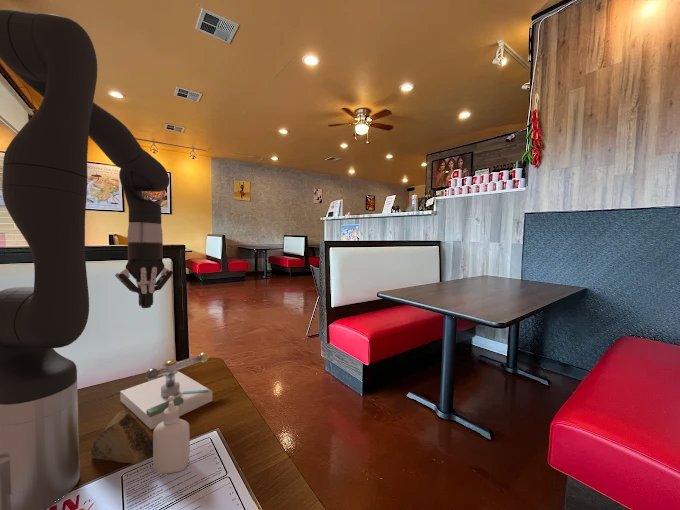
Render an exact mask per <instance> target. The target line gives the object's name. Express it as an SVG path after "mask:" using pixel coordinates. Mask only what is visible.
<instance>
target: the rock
mask: <svg viewBox="0 0 680 510" xmlns="http://www.w3.org/2000/svg"><path fill="white" fill-rule="evenodd" d="M98 435H99V436H97V438H95V440H94V441H93V445H92V447H91V449H90V456H91V459H96V460H105V461H113V462H116V463H123V464H127V463H128V464H133V465H135V464H140V463H142V462H143V461H146V460H148V459H150V458H151V457H152V458H153V434H150V433H149V432H148V431H147V429H146V428H145V426H144V425H143V424H142V422H140V421H139V420H137V418H135V417H133V416H132V415H131V414H130V413H127V411H125V410H120V411H119V412H117V413H116V414H115V416H114V417H113V418H112V420H110V421H109V423H108V424H107V425H106V426H105V428H104V429H103V430H102V431H101V432H100V434H98Z"/></svg>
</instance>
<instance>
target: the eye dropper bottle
mask: <svg viewBox="0 0 680 510" xmlns="http://www.w3.org/2000/svg"><path fill="white" fill-rule="evenodd" d="M189 423H190V422H188V421H187V420H185V419H182V418H180V416H179V407H177V406H175V405H174V402H173V401H171V402H169V406H168V408H167V409H165V410H164V421H163V422H161V423H159V424H158V425H157V426H156V428H153V433H152V436H153V456H152V460H153V461H152V462H153V463H152V467H153V471H154V472H156V473H158V474H174V473H177V472H181V471H183V470H185V469H186V468H187V466H188V464H189V462H190V458H191V457H190V456H191V455H190V454H191V453H190V452H191V451H190V450H191V449H190V448H191V446H190V424H189Z"/></svg>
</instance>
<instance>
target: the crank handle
mask: <svg viewBox="0 0 680 510" xmlns="http://www.w3.org/2000/svg"><path fill="white" fill-rule="evenodd" d="M208 360H209V354H208V352H205V351H204V352H203V351H202V352H201V353H199V354H198V355H195V356H192V357H189V358H186V359H183V360H180V361H177V360H176V359H175V358H169V359H167V360H165V361H164V363H163V364H162V366H161V367H158V368H154V367H153V368H152V367H151V368H150V369H148V370H147V371H146V372H145V379H147V380H148V381H151V380H154V379H157V378H159V377H160V376H161V377H163V376H166V387H171V386H173V385H175V374H176V373H177V372H178V370H181V369H183V368H184V369H185V368H187V367H189V366H192V365H196V364H198V363H205V362H207V361H208Z"/></svg>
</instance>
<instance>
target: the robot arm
mask: <svg viewBox="0 0 680 510" xmlns="http://www.w3.org/2000/svg"><path fill="white" fill-rule="evenodd" d="M0 60H1V61H2V62H3V63H4V64H5V65H6V66H7V68H9V69H10V70H11V71H12V72H13V73H14V74H15V75H16V76H18V77H19V79H21V80H22V81H23V82H25V83H26V84H27V85H28V86H29V87H30V88H31V89H33V90H34V91H35V92H36V93H38V94H39V95H40V96H42V101H41V104H39V107H38V109H37V110H36V111H35V112H34V114H33V115H32V117H31V118H29V120H27V122H26V123H25V124H24V126H23V127H22V128H21V129H19V131H18V132H17V134H16V135H15V136H14V137H13V139H12V140H11V142H9V144H8V146H7V147H6V150H5V152H4V155H3V162H2V181H1V186H2V187H1V188H2V189H1V192H2V198H3V199H2V200H3V202H4V206H5V208H6V210H7V212H8V214H9V215H10V218H11V219H12V221H13V222H14V224H15V226H16V227H17V229H18V231H20V234H21V235H22V237H23V238H24V239H25V241H26V243H27V245H28V247H29V249H30V252H31V256H32V260H33V267H34V270H33V271H34V279H33V280H34V282H33V286H17V287H16V286H14V287H9V288H5V289H3V290H0V510H45V509H47V508H49V507H50V506H53V505H54V504H55V503H54V502H55V501H57V500H58V499H60V498H62V497H63V496H64V497H65V496H67V495H68V494H69V493H70V492H71V491H73V489H74V488H75V487H76V485H77V483H78V482H79V481H80V470H81V469H80V468H81V465H80V440H79V439H80V438H79V433H80V432H79V407H78V406H79V404H78V401H79V400H78V368H77V365H76V363H75V362H74V361H73V360H71V359H69V358H67V357H65V356H63V355H61V354H60V353H59V352H58V351H56V350H55V349H60V348H65V347H67V346H69V345H71V344H73V343H74V342H75V341H77V340H78V339H79V337H81V335H82V334H83V332H84V330H85V329H86V326H87V324H88V320H89V315H90V314H89V313H90V296H89V287H88V286H89V285H88V275H87V272H88V271H87V264H86V263H87V262H86V209H87V197H88V154H89V153H88V149H89V138H90V139H91V140H92V141H93V142H94V144H96V146H97V147H98V148H99V149H100V150H101V151H102V152H103V154H104V155H105V156H106V157H107V158H108V159H109V161H111V163H113V164H114V166H116V167H117V168H119V169H120V170H119V174H118V175H119V182H120V185H121V188H122V190H123V192H124V196H125V199H126V200H125V201H126V203H127V207H128V226H127V236H126V240H127V263H126V265H125V269H123V270H122V271H121V272H117V273H115V278H117V279H118V280H119V281H120V283H121V284H122V285H124V286H125V287H126V288H127V289H128V290H129V291H130V292H133V293H137V294H138V306H139V307H141V308H142V309H149V308H152V307H151V306H153V305H154V293H155V292H157V291H160V290H162V289H163V287H164V286H165V285H166V283H167V282H168V281H169V279H171V277H172V276H173V274H174V272H173V271H172V270H169V269H168V268H166V266H165V264H164V262H163V259H164V257H163V255H164V253H163V252H164V251H163V250H164V249H163V247H164V244H163V228H162V205H161V203H159V202H157V201H154V200H149V199H146V198H145V197H144V195H143V193H142V192H152V193H153V192H154V193H161V192H163V191H165V190H166V189H168V187H169V185H170V175H169V173H168V171H167V169H166V168H165V166H163V164H161V162H160V161H158V159H156V158H154V156H153V155H151V154H150V153H149V152H147V151H146V150H145V149H144V148H143V147H142V146H141V145H140V143H139V142H138V140H137V138H136V137H135V136H134V135H133V133H132V132H131V131H130V129H129V128H128V127H127V125H125V124H124V123H123V122H121V121H120V120H119V119H118V118H117V117H115V116H114V115H113V114H112V113H110V112H108V111H107V110H105V109H104V108H102V107H101V106H100V105H98V104H97V103H95V102H94V98H95V93H96V88H97V80H98V60H97V54H96V49H95V47H94V44H93V42H92V39H91V37H90V36H89V33H87V30H85V28H84V27H83V26H82V25H80V24H79V23H78V22H77V21H75V20H73V19H71V18H68V17H66V16H62V15H57V14H51V13H44V12H36V11H35V12H34V11H26V10H25V11H24V10H15V9H0ZM131 277H133V279H134V280H135V282H136V284H135V283H133V281H132V280H131V279H130V278H131ZM157 278H158V279H157ZM64 497H63V498H64ZM63 498H62V499H63ZM60 500H61V499H60ZM57 502H58V501H57ZM53 503H54V504H53Z"/></svg>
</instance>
